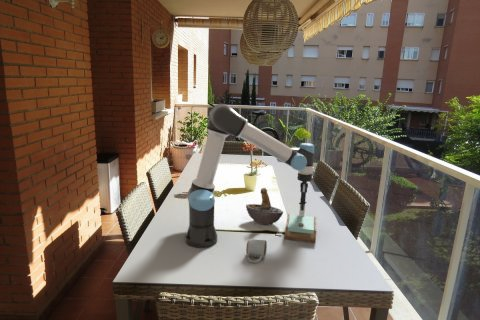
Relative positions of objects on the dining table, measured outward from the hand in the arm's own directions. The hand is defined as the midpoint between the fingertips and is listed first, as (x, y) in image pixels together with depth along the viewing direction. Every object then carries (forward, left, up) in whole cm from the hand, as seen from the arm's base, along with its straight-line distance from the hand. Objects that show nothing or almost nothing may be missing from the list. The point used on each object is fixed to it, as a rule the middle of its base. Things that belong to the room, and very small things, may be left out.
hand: (301, 215), depth 187 cm
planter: (-4, +20, -6) cm, 21 cm away
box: (-12, 0, -5) cm, 13 cm away
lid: (-12, 0, -1) cm, 12 cm away
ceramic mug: (-42, +18, -6) cm, 46 cm away
